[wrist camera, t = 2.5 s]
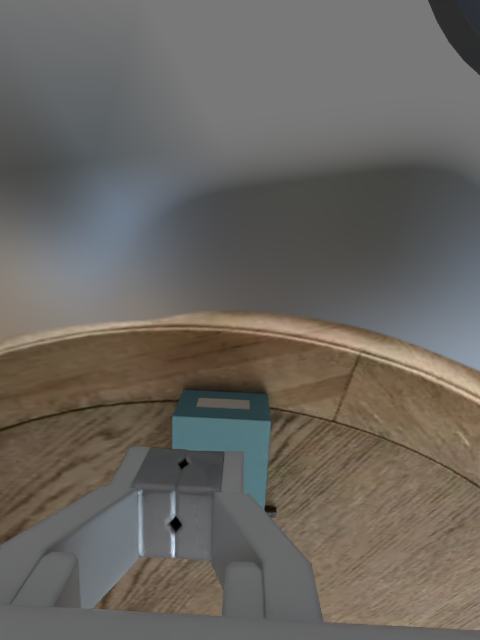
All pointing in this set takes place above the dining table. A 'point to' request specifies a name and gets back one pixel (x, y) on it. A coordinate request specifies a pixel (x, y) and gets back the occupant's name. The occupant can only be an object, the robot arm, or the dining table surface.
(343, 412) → the dining table surface
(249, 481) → the teal labeled box
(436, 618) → the dining table surface
